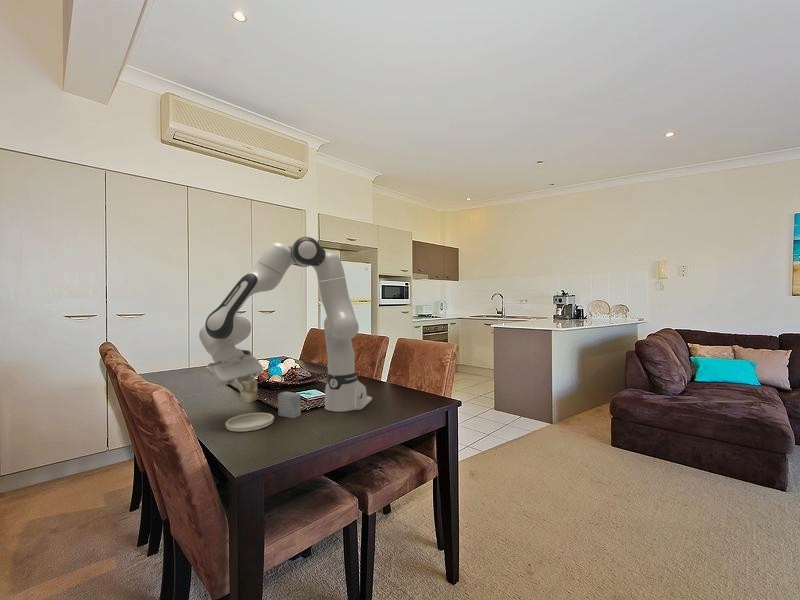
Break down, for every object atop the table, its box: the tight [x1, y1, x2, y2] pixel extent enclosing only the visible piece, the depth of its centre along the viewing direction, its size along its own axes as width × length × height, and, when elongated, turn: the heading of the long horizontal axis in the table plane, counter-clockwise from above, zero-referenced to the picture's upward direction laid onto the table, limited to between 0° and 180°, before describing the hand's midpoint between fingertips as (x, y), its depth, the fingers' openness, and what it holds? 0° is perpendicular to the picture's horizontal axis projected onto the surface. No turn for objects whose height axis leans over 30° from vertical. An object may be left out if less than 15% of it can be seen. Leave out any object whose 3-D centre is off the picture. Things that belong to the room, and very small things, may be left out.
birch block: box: [239, 379, 258, 403], centre depth 139 cm, size 4×4×7 cm
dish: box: [224, 412, 275, 433], centre depth 139 cm, size 16×16×2 cm
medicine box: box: [277, 391, 302, 419], centre depth 148 cm, size 8×4×9 cm, turn 59°
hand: (249, 388), depth 139 cm, fingers closed on birch block, 4 cm apart
